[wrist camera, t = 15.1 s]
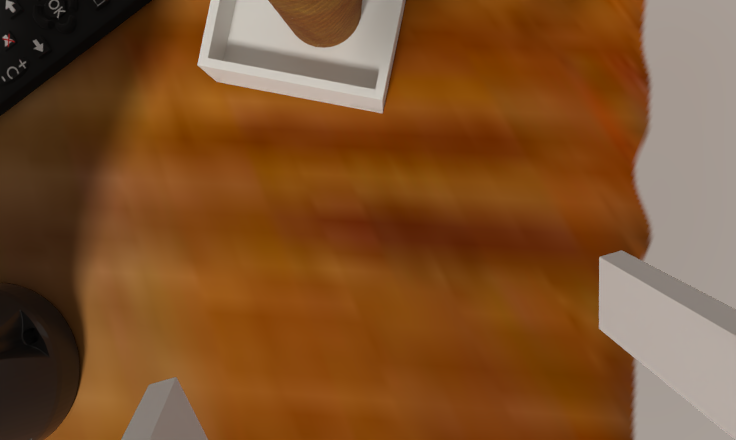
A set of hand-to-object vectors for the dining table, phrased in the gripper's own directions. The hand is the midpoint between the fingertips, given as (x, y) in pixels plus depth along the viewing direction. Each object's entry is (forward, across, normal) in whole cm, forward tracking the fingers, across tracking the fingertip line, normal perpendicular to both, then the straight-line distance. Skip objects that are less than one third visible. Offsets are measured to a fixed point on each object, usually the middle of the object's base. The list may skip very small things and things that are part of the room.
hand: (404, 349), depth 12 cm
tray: (+28, +2, +13) cm, 31 cm away
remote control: (+34, -23, +17) cm, 44 cm away
